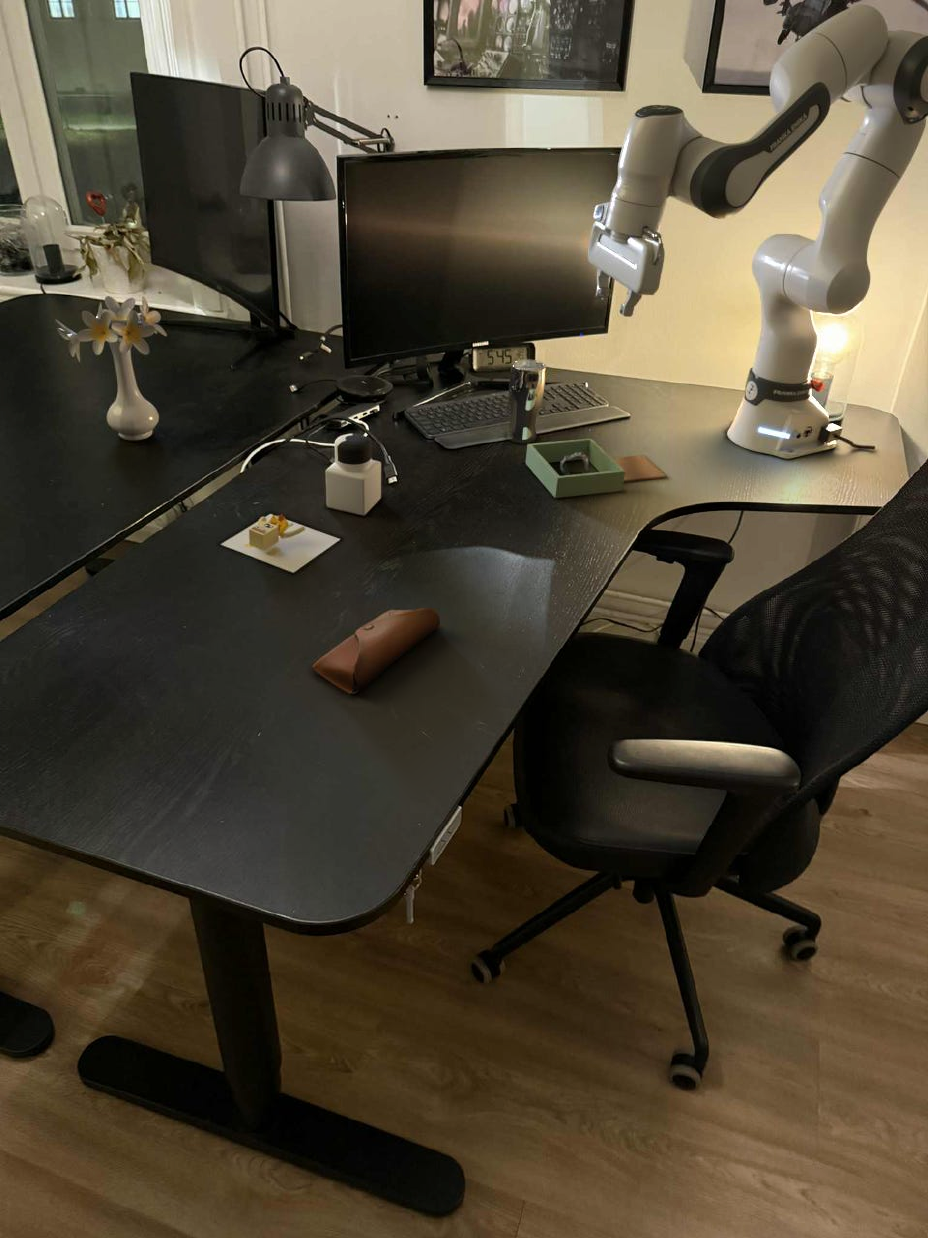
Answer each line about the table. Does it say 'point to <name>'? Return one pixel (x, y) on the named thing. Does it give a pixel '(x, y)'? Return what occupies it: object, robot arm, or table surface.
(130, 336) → the flower vase
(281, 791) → the table surface
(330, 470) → the medicine bottle
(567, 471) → the wristwatch
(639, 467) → the cork pad
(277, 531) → the miniature model
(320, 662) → the sunglasses case
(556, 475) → the tray
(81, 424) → the table surface
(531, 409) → the shiny metal tumbler
